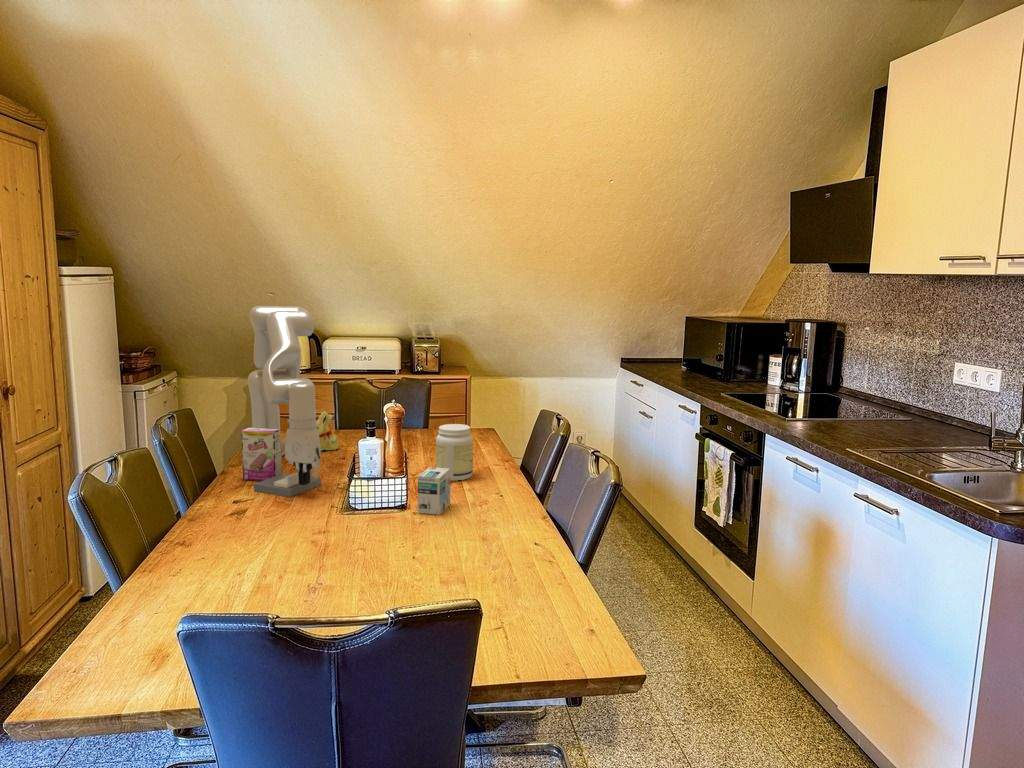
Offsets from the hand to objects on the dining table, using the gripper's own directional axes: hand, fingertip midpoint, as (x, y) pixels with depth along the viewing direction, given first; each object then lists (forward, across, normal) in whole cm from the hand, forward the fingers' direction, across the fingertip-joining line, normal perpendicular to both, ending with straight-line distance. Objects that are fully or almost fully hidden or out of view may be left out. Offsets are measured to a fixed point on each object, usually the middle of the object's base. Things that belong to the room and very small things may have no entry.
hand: (304, 483), depth 205 cm
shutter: (+1, -6, 0) cm, 6 cm away
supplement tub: (+4, +31, +37) cm, 48 cm away
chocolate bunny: (+4, -29, +46) cm, 54 cm away
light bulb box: (+4, +41, +6) cm, 42 cm away
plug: (+3, -10, +15) cm, 18 cm away
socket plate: (+3, -9, +3) cm, 10 cm away
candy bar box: (+4, -22, +7) cm, 24 cm away
